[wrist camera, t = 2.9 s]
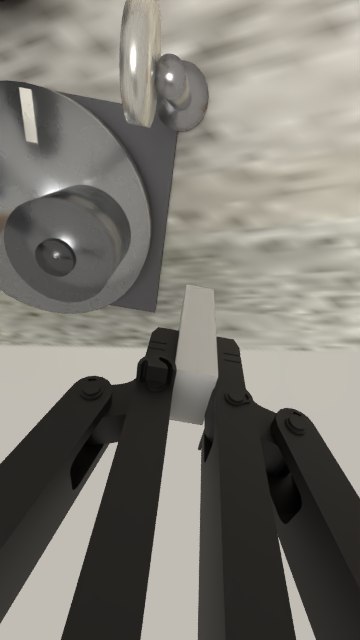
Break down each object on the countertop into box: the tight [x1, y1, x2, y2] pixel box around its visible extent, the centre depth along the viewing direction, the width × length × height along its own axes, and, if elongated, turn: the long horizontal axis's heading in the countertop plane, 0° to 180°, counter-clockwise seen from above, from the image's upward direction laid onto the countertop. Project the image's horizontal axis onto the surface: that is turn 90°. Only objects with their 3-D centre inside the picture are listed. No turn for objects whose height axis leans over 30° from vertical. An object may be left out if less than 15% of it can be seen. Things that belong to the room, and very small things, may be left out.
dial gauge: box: [120, 0, 208, 131], centre depth 16 cm, size 4×4×12 cm
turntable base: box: [55, 91, 178, 312], centre depth 25 cm, size 20×18×2 cm
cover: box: [4, 185, 131, 302], centre depth 20 cm, size 7×7×7 cm
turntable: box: [0, 81, 152, 313], centre depth 22 cm, size 18×18×6 cm
